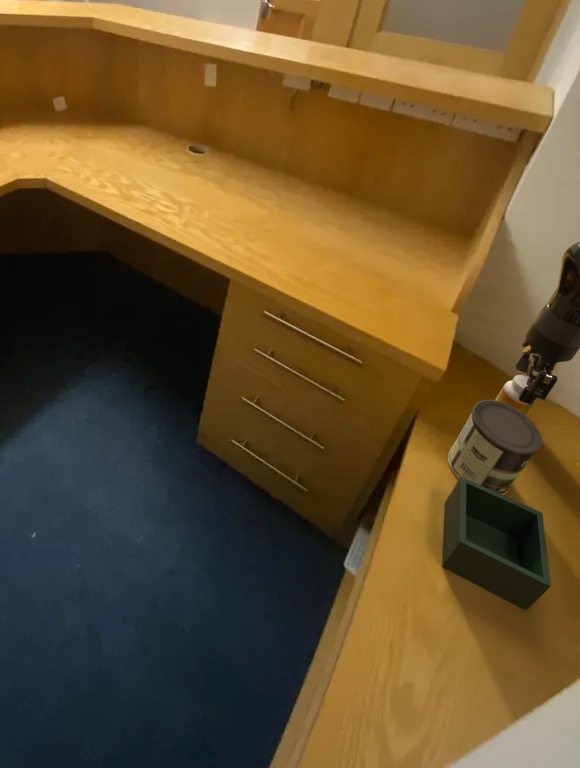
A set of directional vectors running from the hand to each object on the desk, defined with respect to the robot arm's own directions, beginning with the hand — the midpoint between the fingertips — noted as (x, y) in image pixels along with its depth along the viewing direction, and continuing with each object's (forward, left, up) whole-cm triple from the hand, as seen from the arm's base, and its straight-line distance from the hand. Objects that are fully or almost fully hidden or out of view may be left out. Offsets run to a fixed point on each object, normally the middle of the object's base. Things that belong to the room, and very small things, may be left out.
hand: (522, 385), depth 103 cm
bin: (+5, +33, -9) cm, 35 cm away
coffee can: (+5, +17, -9) cm, 20 cm away
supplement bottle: (0, 0, -9) cm, 9 cm away
